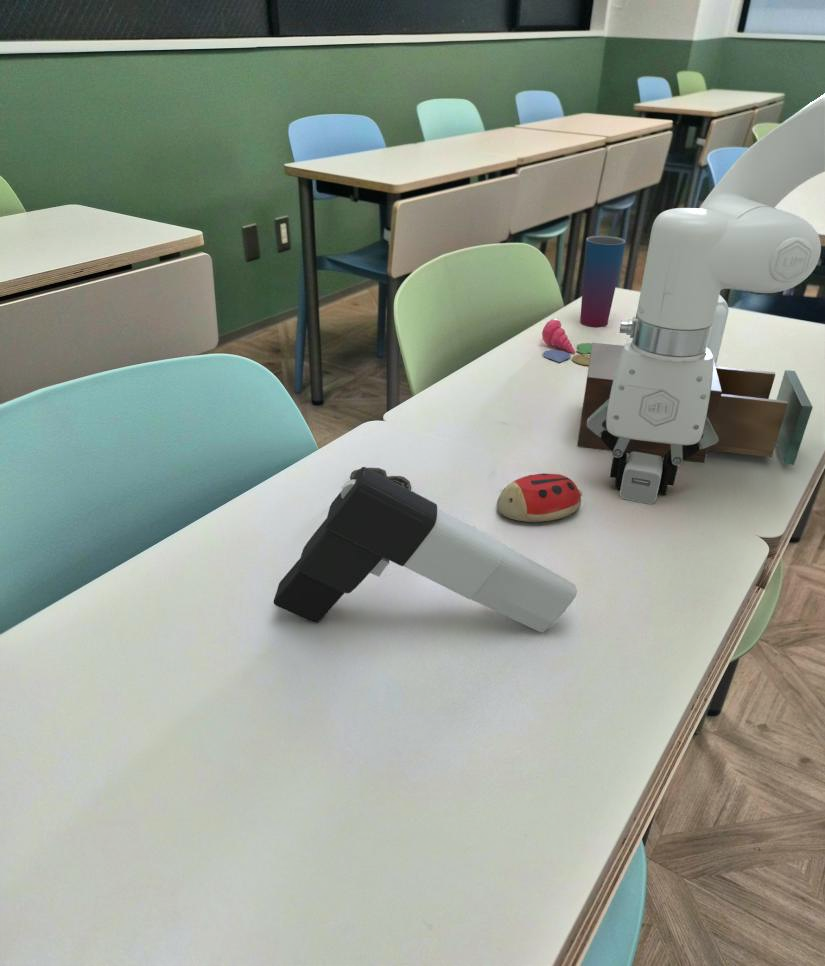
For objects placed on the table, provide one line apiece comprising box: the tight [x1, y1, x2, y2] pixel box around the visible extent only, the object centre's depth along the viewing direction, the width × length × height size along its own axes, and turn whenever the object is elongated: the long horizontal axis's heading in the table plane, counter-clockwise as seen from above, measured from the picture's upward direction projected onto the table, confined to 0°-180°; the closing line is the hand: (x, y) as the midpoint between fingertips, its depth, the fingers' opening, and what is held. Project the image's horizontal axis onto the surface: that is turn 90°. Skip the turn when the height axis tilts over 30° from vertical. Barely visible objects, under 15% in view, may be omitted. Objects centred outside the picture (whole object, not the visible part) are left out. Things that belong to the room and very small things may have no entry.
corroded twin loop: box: [349, 467, 412, 491], centre depth 84 cm, size 5×8×1 cm, turn 54°
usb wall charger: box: [619, 452, 664, 505], centre depth 84 cm, size 4×7×4 cm, turn 159°
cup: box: [579, 235, 627, 328], centre depth 132 cm, size 7×7×15 cm
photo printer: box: [707, 294, 729, 366], centre depth 116 cm, size 10×4×12 cm, turn 13°
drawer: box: [707, 365, 813, 466], centre depth 93 cm, size 16×11×8 cm
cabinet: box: [576, 342, 722, 463], centre depth 95 cm, size 16×13×10 cm
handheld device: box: [272, 466, 578, 633], centre depth 64 cm, size 4×22×15 cm, turn 87°
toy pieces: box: [541, 318, 593, 367], centre depth 122 cm, size 12×11×4 cm
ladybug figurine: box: [496, 473, 583, 523], centre depth 80 cm, size 7×10×4 cm
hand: (640, 484), depth 85 cm, fingers closed on usb wall charger, 4 cm apart
